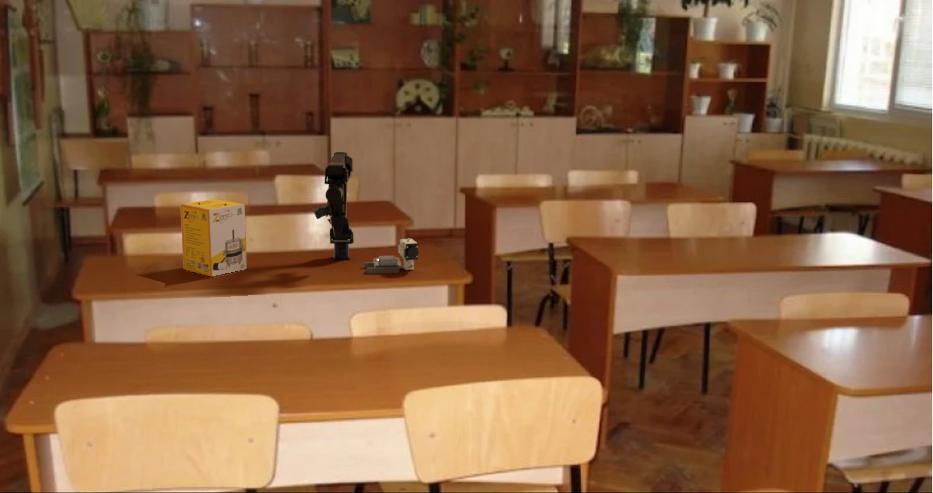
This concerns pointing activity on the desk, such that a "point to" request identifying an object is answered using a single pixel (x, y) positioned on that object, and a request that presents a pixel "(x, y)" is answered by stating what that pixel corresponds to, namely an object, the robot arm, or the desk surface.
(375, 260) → the coupling
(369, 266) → the guide channel
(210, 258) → the packaging box
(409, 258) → the pneumatic valve
